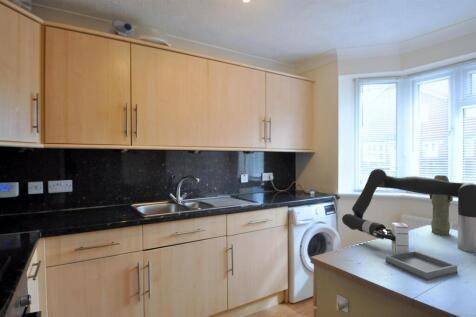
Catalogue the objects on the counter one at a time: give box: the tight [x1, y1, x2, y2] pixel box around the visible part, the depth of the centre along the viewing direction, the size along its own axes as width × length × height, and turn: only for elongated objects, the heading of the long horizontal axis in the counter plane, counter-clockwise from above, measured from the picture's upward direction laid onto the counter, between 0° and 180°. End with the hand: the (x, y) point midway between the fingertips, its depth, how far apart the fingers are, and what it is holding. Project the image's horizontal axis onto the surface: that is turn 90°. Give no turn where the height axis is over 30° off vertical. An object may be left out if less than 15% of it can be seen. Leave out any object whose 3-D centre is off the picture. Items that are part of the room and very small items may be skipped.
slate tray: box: [385, 250, 458, 281], centre depth 113 cm, size 18×18×3 cm
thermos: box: [429, 174, 454, 236], centre depth 161 cm, size 9×12×35 cm
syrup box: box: [391, 222, 410, 254], centre depth 128 cm, size 6×6×14 cm
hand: (401, 238), depth 127 cm, fingers open, 8 cm apart
